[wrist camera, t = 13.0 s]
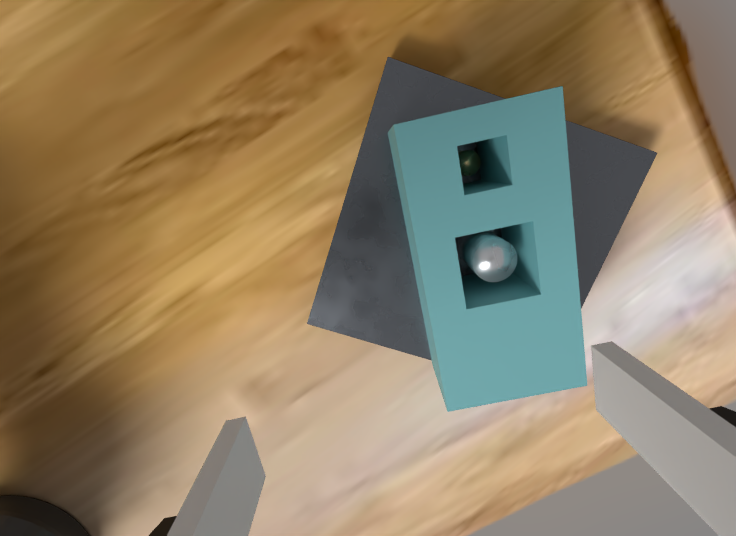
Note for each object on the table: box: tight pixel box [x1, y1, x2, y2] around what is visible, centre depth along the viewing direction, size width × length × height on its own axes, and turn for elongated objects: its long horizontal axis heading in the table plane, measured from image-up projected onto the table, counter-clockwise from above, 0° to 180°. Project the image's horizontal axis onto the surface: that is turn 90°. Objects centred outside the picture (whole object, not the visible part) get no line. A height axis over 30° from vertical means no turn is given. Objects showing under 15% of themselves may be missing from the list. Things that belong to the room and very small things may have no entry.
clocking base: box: [307, 57, 657, 360], centre depth 31 cm, size 22×22×8 cm
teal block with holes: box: [388, 86, 587, 412], centre depth 29 cm, size 20×10×7 cm, turn 12°
